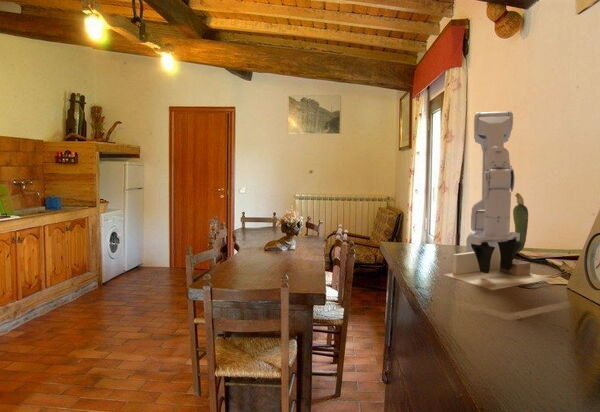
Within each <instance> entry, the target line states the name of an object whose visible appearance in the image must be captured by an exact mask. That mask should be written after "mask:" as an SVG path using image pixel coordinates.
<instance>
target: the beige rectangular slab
mask: <svg viewBox="0 0 600 412" xmlns="http://www.w3.org/2000/svg"><path fill="white" fill-rule="evenodd" d="M495 268H500V249H494V251H493V253H492V257H491V261H490V269H495ZM475 271H480V269H479V264H478V260H477V257H476V255H475V253H474V252H468V253H466V252H461V253H453V254H452V273H453V274H462V273H469V272H475Z"/></svg>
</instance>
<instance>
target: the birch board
mask: <svg viewBox="0 0 600 412" xmlns="http://www.w3.org/2000/svg"><path fill="white" fill-rule="evenodd" d="M499 270H500V268H495V269H490V270H489V273H483V272H480V271H475V272H469V273H462V274H453V272H450V273H444V274H443V276H447V277H449V278H453V279H456V280H459V281H463V282H465V283H468V284H472V285H475V286H478V287H480V288H481V287H482V288H484V289H488V290H490V291H495V290H500V289H505V288H511V287H515V286H522V285H526V284H527V285H528V284H533V283H537V282H538V283H539V282H545V281H550V280H553V278H552V277H547V276H542V275H539V274H534V273H531V272H530V274H528V275H522V276H513V275H509V274H505V273H502V272H499Z"/></svg>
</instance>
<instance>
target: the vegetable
mask: <svg viewBox="0 0 600 412" xmlns="http://www.w3.org/2000/svg"><path fill="white" fill-rule="evenodd" d="M514 196H515V198H516V203H517V205H515V206H514V207H513V209H512V216H513V223H514V232H516V233H520V240H519V241H516V242H521V247H520V248H519V249H518V251H517V253H518V254H520V253H521V251H523V250H524V247H525V245H526V241H527V234H528V227H529V226H528V223H529V210H528V207H527V206H526V205H524V203H525V202H524V198H523V196H522V195H521V193H519V192H517V193H515V195H514ZM517 253H516V254H517Z"/></svg>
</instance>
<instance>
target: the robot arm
mask: <svg viewBox="0 0 600 412" xmlns="http://www.w3.org/2000/svg"><path fill="white" fill-rule="evenodd" d="M513 126H514V113H513V112H512V111H511V110H507V111H485V112H479V111H476V112H475V114H474V117H473V132H474V133H473V138H474V142H475V143H477V144H479V145H480V147H481V151H482V168H481V169H482V172H481V180H482V181H481V199H480V200H478V201H477V202H475V203H474V204H473V205H472V207H471V213H470V230H471V232H470V233H469V234H468V235H467V237H466V242H465V243H466V244H465V245H466V246H465V248H466V249H465V253H468V252H474V253H475V255H476V257H477V260H478V264H479V269H480V272H483V273H489V270H490V261H491V257H492V253H493V251H494V249H500V261H501V268H502V269H506V270H510V268H511V265H512V262H513V259H515V257H516V254H517V251H518V249H519V248H520V247H521V242H516V241H519V240H520V233H516V232H515V231H511V230H510V227H511V225H510V224H511V208H512V207H511V204H512V203H511V202H512V200H511V199H512V192H513V191H514V187H515V182H516V181H515V180H516V179H515V178H516V177H515V171H514V168H513V166H512V165H511V161H510V152H509V150H508V148H506V147H505V146H504V144H505V143H507V142H509V140H510V137H511V133H512V131H513Z"/></svg>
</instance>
